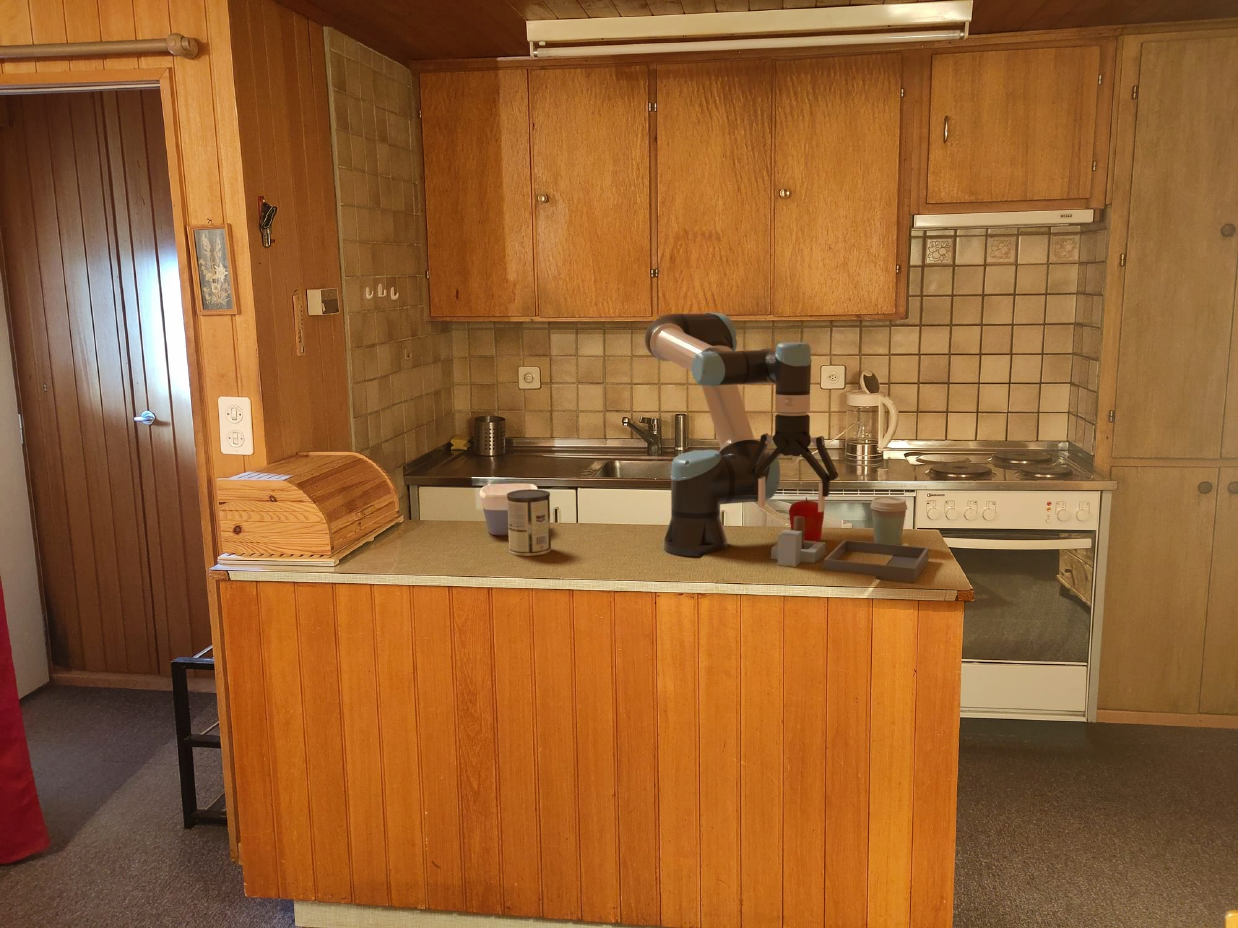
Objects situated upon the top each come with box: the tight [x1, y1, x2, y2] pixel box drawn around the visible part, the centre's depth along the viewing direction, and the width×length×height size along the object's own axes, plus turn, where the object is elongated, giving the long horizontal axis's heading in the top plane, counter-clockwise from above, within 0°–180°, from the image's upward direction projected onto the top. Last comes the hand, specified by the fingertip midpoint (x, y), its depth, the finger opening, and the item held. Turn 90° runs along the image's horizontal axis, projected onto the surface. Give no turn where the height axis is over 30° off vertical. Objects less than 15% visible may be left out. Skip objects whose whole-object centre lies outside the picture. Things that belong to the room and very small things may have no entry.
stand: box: [768, 516, 828, 565], centre depth 239 cm, size 11×11×10 cm
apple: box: [788, 496, 825, 542], centre depth 252 cm, size 9×8×12 cm
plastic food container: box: [479, 483, 539, 537], centre depth 269 cm, size 15×15×11 cm
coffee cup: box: [870, 496, 908, 545], centre depth 247 cm, size 8×8×12 cm
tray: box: [823, 539, 930, 584], centre depth 232 cm, size 19×19×3 cm
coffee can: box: [507, 489, 552, 557], centre depth 248 cm, size 10×10×14 cm
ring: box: [770, 529, 826, 568], centre depth 237 cm, size 10×15×7 cm, turn 155°
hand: (791, 508), depth 231 cm, fingers open, 13 cm apart
